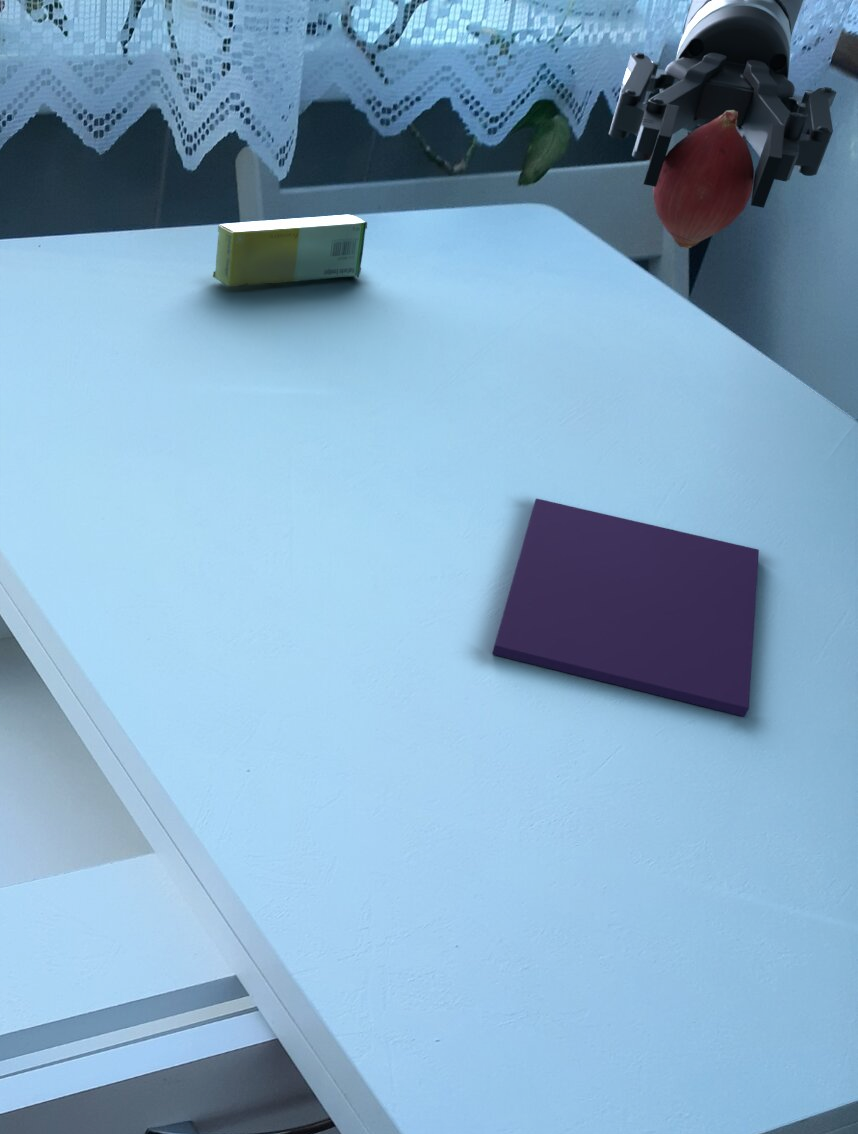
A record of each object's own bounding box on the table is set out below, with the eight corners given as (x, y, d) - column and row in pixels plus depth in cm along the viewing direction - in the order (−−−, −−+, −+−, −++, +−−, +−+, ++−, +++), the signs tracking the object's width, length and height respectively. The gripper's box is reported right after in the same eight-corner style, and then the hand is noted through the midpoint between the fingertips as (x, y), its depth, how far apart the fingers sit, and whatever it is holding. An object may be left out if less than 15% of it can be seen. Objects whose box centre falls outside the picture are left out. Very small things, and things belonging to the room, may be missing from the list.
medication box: (344, 267, 121) (352, 212, 119) (362, 277, 120) (370, 221, 117) (211, 277, 117) (216, 221, 115) (227, 288, 115) (233, 231, 113)
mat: (755, 557, 95) (759, 549, 94) (744, 717, 83) (749, 708, 82) (533, 506, 97) (535, 497, 97) (491, 654, 85) (494, 645, 85)
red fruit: (623, 245, 97) (667, 106, 91) (655, 221, 100) (699, 86, 94) (709, 273, 95) (760, 132, 89) (740, 247, 98) (790, 111, 92)
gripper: (613, -20, 104) (573, 71, 88) (894, 28, 101) (903, 132, 85) (579, 101, 109) (536, 207, 94) (845, 151, 106) (845, 269, 91)
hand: (711, 171), depth 90 cm, fingers closed on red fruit, 6 cm apart
